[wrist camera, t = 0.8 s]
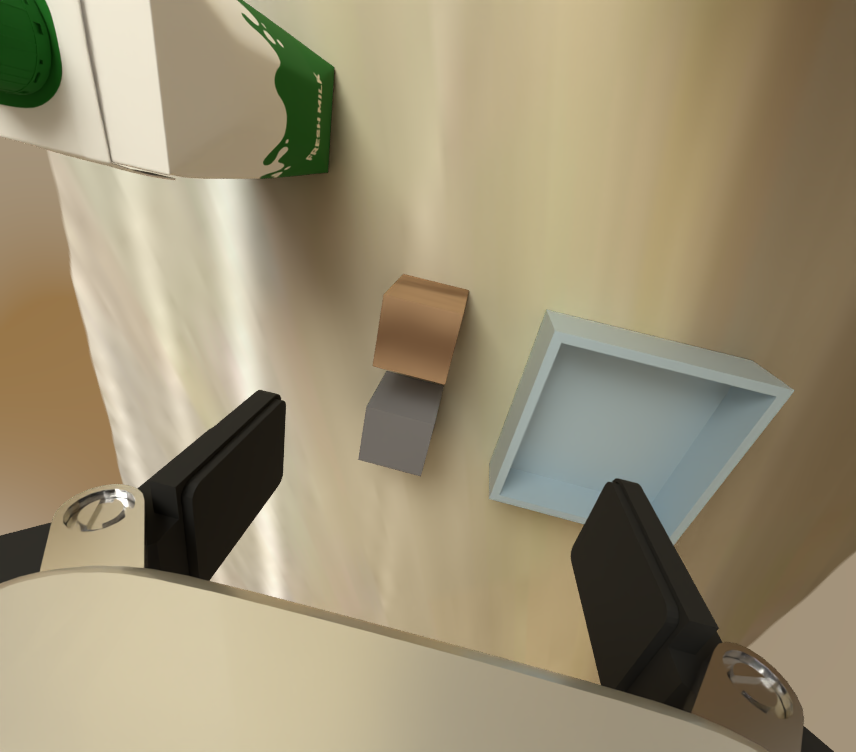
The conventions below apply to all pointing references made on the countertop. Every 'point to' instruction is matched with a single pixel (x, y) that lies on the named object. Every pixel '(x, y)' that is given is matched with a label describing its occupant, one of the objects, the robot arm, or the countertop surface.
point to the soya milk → (164, 87)
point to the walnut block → (419, 328)
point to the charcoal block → (400, 423)
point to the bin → (627, 421)
